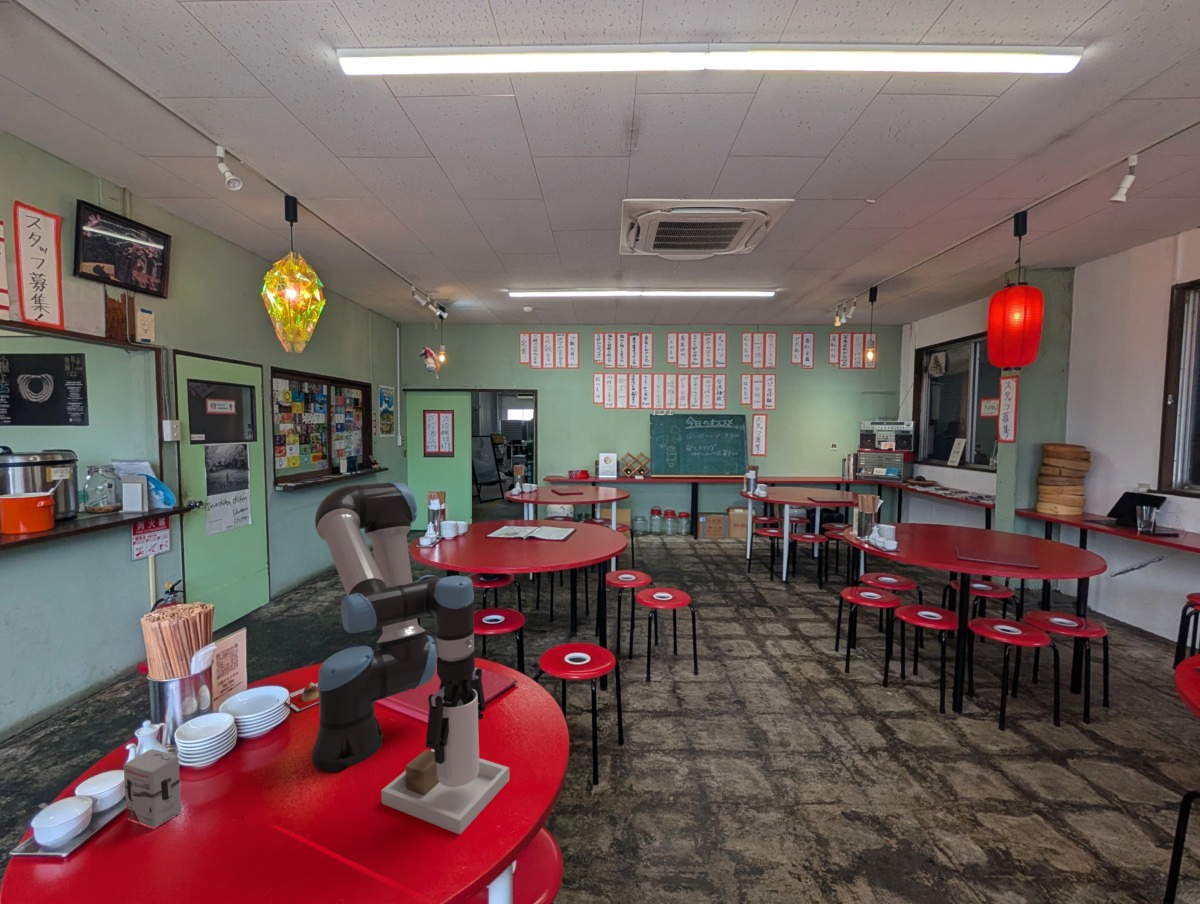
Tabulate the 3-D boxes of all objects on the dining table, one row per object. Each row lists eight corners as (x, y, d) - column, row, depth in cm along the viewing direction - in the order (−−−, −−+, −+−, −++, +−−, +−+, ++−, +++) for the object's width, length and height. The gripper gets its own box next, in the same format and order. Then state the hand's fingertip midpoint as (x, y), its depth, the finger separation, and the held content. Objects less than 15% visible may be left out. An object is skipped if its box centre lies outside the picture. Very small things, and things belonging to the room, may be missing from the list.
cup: (447, 759, 107) (446, 686, 106) (484, 761, 106) (483, 687, 106) (431, 786, 99) (429, 707, 98) (471, 788, 98) (469, 708, 97)
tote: (381, 807, 101) (381, 790, 100) (437, 759, 115) (437, 744, 115) (460, 838, 92) (459, 820, 92) (509, 783, 107) (509, 767, 107)
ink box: (124, 821, 98) (122, 762, 97) (154, 803, 102) (151, 747, 102) (154, 831, 95) (151, 771, 95) (182, 812, 100) (180, 755, 99)
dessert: (297, 715, 135) (296, 698, 135) (278, 701, 143) (278, 685, 142) (341, 696, 145) (341, 680, 145) (322, 684, 152) (321, 669, 152)
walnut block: (406, 789, 104) (405, 765, 104) (426, 771, 110) (426, 749, 110) (424, 795, 102) (423, 772, 102) (444, 777, 108) (443, 755, 108)
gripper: (433, 680, 90) (436, 801, 91) (501, 637, 110) (503, 738, 110) (402, 673, 94) (405, 790, 94) (473, 632, 113) (476, 730, 113)
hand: (458, 762), depth 102 cm, fingers closed on cup, 8 cm apart
